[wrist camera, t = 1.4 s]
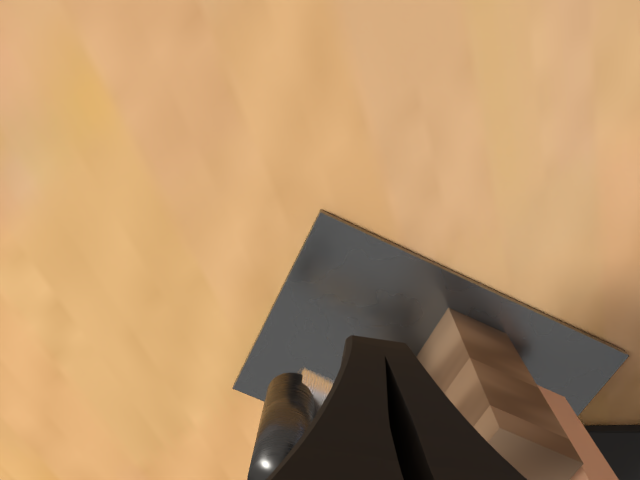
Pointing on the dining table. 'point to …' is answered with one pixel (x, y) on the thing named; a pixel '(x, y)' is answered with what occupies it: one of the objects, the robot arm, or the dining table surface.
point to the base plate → (405, 315)
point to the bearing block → (498, 396)
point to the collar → (579, 440)
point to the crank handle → (286, 417)
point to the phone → (619, 448)
